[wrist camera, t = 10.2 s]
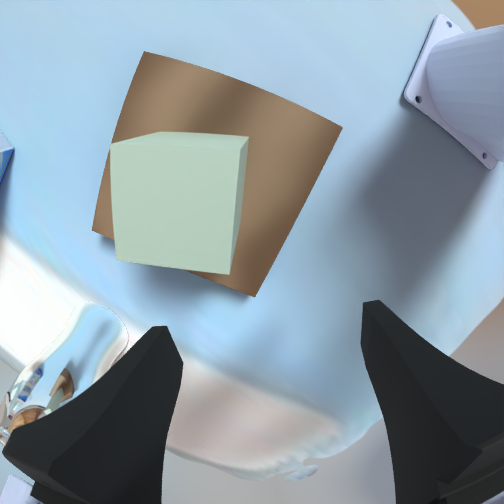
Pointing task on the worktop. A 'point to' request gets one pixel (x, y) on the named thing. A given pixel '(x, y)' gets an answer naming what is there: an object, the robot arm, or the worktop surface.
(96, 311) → the beer glass
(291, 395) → the worktop surface
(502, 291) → the worktop surface
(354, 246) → the worktop surface
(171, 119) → the walnut base
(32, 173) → the worktop surface
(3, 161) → the medicine box
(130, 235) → the sage block
